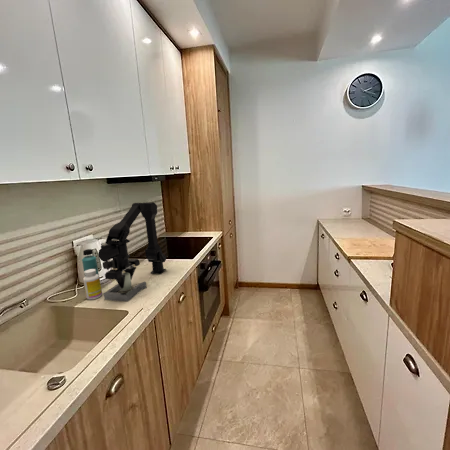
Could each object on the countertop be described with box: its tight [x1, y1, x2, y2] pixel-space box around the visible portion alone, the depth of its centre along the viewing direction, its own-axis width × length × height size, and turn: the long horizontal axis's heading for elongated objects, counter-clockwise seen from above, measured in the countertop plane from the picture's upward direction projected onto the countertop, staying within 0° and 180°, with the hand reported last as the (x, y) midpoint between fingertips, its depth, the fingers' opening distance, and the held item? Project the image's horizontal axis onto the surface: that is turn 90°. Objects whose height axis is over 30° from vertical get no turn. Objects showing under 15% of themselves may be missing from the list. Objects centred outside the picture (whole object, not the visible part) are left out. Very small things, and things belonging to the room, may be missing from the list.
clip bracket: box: [103, 281, 147, 302], centre depth 122 cm, size 14×14×3 cm
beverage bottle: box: [81, 248, 100, 278], centre depth 128 cm, size 6×7×20 cm
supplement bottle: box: [82, 269, 103, 300], centre depth 119 cm, size 7×7×13 cm
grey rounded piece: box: [120, 272, 133, 292], centre depth 122 cm, size 5×5×7 cm
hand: (125, 285), depth 122 cm, fingers closed on grey rounded piece, 5 cm apart
